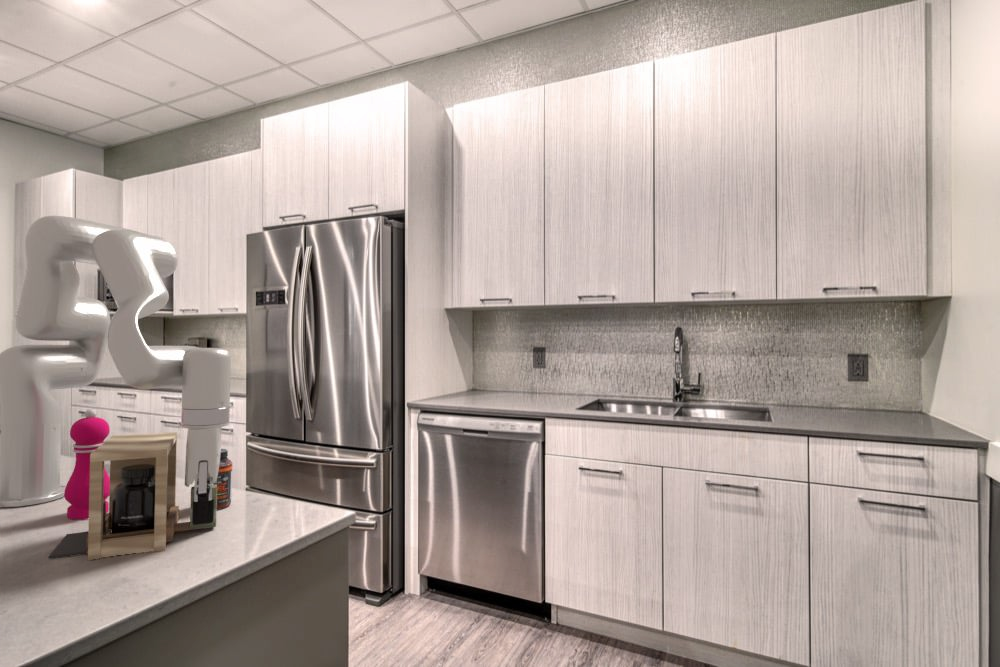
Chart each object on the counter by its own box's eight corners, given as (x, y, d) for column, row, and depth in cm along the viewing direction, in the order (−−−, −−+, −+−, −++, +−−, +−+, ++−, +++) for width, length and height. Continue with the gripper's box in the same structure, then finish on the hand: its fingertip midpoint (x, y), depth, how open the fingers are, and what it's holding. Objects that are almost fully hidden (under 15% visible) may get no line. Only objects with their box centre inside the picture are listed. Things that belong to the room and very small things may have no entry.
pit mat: (66, 536, 91) (66, 534, 91) (100, 532, 93) (100, 530, 93) (48, 558, 82) (48, 556, 82) (85, 554, 84) (85, 551, 84)
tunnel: (110, 526, 96) (112, 435, 96) (175, 518, 100) (177, 432, 100) (87, 560, 81) (90, 454, 82) (164, 550, 86) (167, 449, 86)
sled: (102, 528, 93) (103, 487, 94) (217, 515, 101) (217, 478, 101) (85, 552, 83) (87, 507, 83) (214, 535, 91) (215, 494, 91)
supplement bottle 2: (201, 513, 104) (203, 454, 104) (194, 505, 108) (195, 449, 108) (235, 507, 107) (236, 451, 108) (226, 500, 112) (228, 446, 112)
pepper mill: (85, 522, 97) (88, 412, 98) (53, 518, 99) (56, 410, 99) (121, 510, 105) (123, 407, 105) (90, 506, 106) (92, 405, 106)
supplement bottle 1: (122, 548, 86) (124, 474, 86) (103, 539, 90) (105, 467, 90) (167, 535, 92) (169, 465, 92) (147, 527, 96) (149, 460, 96)
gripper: (185, 412, 101) (183, 510, 101) (176, 425, 87) (174, 539, 86) (229, 410, 104) (227, 505, 104) (228, 423, 90) (226, 532, 90)
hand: (203, 519), depth 95 cm, fingers closed on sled, 2 cm apart
